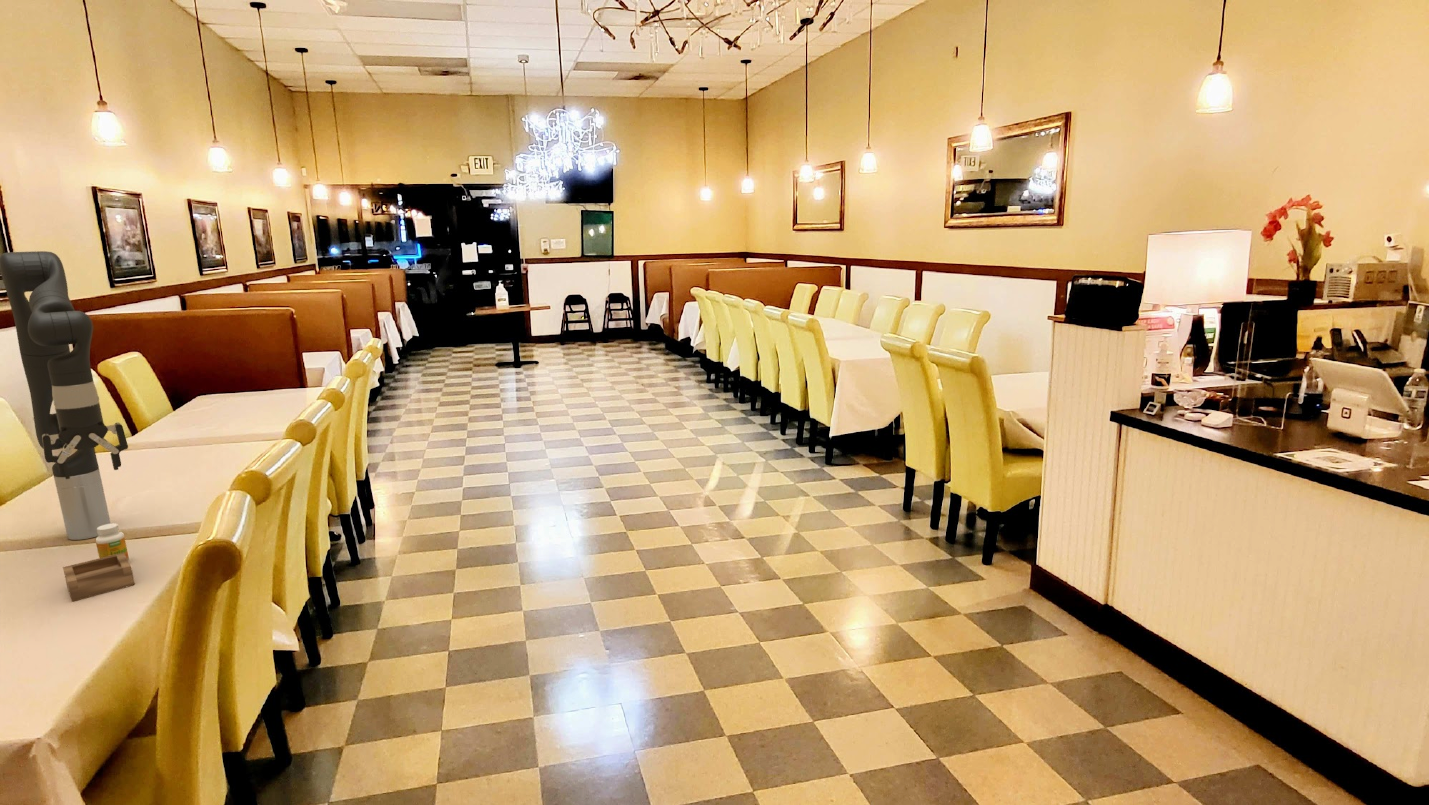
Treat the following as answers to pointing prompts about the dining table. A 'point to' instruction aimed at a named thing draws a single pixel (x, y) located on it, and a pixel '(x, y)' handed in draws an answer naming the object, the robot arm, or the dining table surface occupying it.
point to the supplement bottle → (110, 541)
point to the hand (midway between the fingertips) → (92, 473)
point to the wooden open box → (98, 576)
